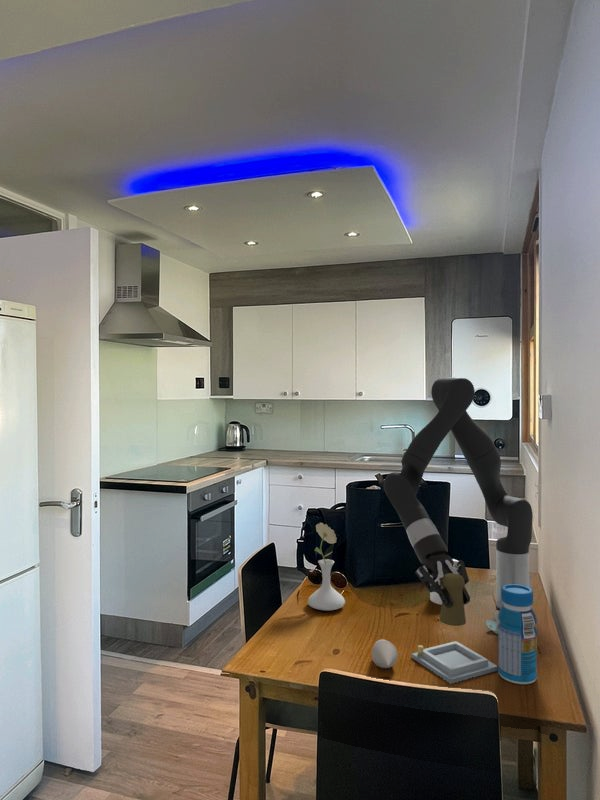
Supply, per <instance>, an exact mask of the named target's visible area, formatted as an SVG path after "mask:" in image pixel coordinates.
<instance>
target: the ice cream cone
mask: <svg viewBox="0 0 600 800" xmlns="http://www.w3.org/2000/svg"><path fill="white" fill-rule="evenodd" d="M398 656H399V655H398V650H397V648H396V646H395V645H394V644H393V643H392V642H390V641H388V640H387V639H379V640H376V642H374V645H373V647H372V650H371V659H372V661H373V663H374V665H376V666H377V667H379V668H381V669H389V668H392V667H393V666H394V665H396V663H397V660H398Z"/></svg>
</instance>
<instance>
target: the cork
mask: <svg viewBox="0 0 600 800" xmlns="http://www.w3.org/2000/svg"><path fill="white" fill-rule="evenodd" d="M442 582H443V585H444V587H445V589H447V591H448V593H449V595H450V597H451V599H452V601H453V605H452V606H451V607H450V608H447V607H446V606H445V605H444V604H443V602H442V605H441V608H440V613H439V614H440V615H439V621H440V622H441V623H442V624H445V625H447V626H451V627H452V626H453V627H455V626H456V627H459V626H464V625H466V623H467V619H466V612H465V611H466V610H465V605H464V602H463V593H462V589H463V588H464V584H465V581H464V578H463V577H462V576H461V575H459V574H455V573H447V574H445V575H444V576H443V579H442ZM465 585H466V584H465Z"/></svg>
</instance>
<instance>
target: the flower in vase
mask: <svg viewBox="0 0 600 800" xmlns="http://www.w3.org/2000/svg"><path fill="white" fill-rule="evenodd" d="M315 531H316V533H318V535H319V536H320V538H321V542H320V546H319V547H318V546H316V547H315V549H314V550H313V551H314V552H316V553H318V554H319V555H321V556H322V559H319V560H317V564H319V566H320V568H321V573H322V574H321V575H322V582H321V585H320V587H319V588H318V589H317V590H315V591H314V592H313V593H312V594H311V595H310V596H309V597H308V599H307V604H308V605H309V607H311V608H313V609H315V610H319V611H327V612H328V611H335V610H338V609H341V608H343V607H344V605H345V604H346V600H345V597H344V596H343V595H342V594H341V593H339V592H338V590H336V589H335V588H334V587H332V585H331V572H332V571H331V570H332V567H333V565H334V564H335V561H334V560H333V559H329V558H327V559H326V557H328V556H330V555H331V554H332V553H333V551H331V552H328V553H326V554H325V555H324V553H323V551H322V545H323V542H327V543H328V544H331V545H332V544H335V543H337V539H338V538H337V537H336V536H337V535H336V533H335V530H334V529H331V527H330V526H328V524H326V523H325V524H324V523H323V522H319V523H317V524H316V525H315Z"/></svg>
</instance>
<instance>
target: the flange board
mask: <svg viewBox="0 0 600 800" xmlns="http://www.w3.org/2000/svg"><path fill="white" fill-rule="evenodd" d="M411 659H413V660H415V661H416V662H418V663H419V664H420V665H422V666H424V667H425V668H426V669H428V670H429V669H430V670H429V671H431V672H432V671H433V672H432V673H433V674H435V675H436V676H437V677H439V676H440V678H441V677H442V678H443V679H442V678H441V679H442V680H443V681H445V680H446V681H445V682H447V683H448V682H449V683H448V684H450V685H452V683H453V684H455V682H456V683H460V682H463V681H466V680H469V678H470V679H473V678H476V677H481V676H483V675H487V674H490V673H493V672H498V665H497V664H495V663H494V662H491V661H490V660H489V659H488V658H486V657H484V656H483V655H481V654H479V653H477V652H476V651H474V650H472V649H471V648H469V647H467V646H465V645H464V644H462V643H461V642H458V641H456V640H455V641H451V642H447V643H443V644H439V645H434V646H431V647H426V648H424V646H423V645H421V644H419V645H417V652H416V651H415V652H413V653H411ZM472 677H473V678H472ZM462 680H463V681H462ZM459 681H460V682H459Z"/></svg>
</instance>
